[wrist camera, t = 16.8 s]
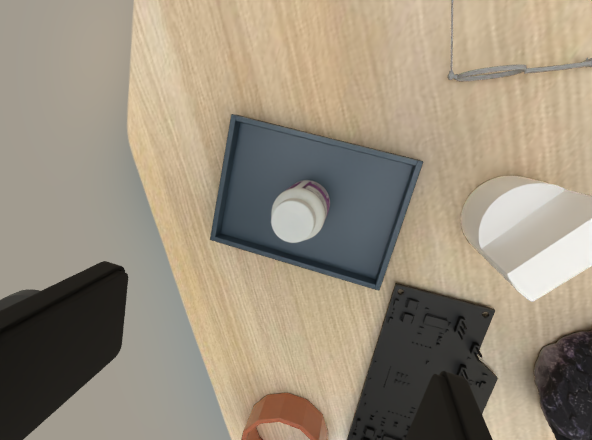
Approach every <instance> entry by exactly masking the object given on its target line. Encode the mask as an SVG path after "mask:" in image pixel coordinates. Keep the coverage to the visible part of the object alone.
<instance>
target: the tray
mask: <svg viewBox="0 0 592 440" xmlns="http://www.w3.org/2000/svg"><path fill="white" fill-rule="evenodd" d="M422 164H423V161H420V160H417V159H413V158H409V157H405V156H400V155H396V154H392V153H388V152H384V151H380V150H376V149H372V148H368V147H364V146H360V145H356V144H352V143H348V142H344V141H340V140H336V139H332V138H328V137H324V136H320V135H316V134H312V133H308V132H304V131H300V130H296V129H292V128H288V127H284V126H280V125H276V124H271V123H267V122H263V121H259V120H255V119H251V118H247V117H243V116H239V115H234V114H231V120H230V126H229V131H228V137H227V143H226V149H225V155H224V161H223V167H222V173H221V179H220V184H219V190H218V196H217V202H216V208H215V214H214V220H213V226H212V231H211V237H210V240H212V241H216V242H219V243H222V244H226V245H229V246H232V247H236V248H239V249H242V250H246V251H249V252H252V253H256V254H259V255H262V256H265V257H269V258H272V259H275V260H279V261H282V262H285V263H289V264H292V265H295V266H299V267H302V268H305V269H309V270H312V271H315V272H319V273H322V274H325V275H329V276H332V277H335V278H339V279H342V280H345V281H349V282H352V283H355V284H359V285H362V286H365V287H368V288H372V289H375V290H380V287H381V284H382V281H383V278H384V275H385V273H386V270H387V267H388V264H389V261H390V258H391V255H392V252H393V249H394V246H395V243H396V240H397V237H398V234H399V232H400V229H401V226H402V223H403V220H404V217H405V214H406V211H407V208H408V205H409V202H410V199H411V196H412V193H413V190H414V188H415V185H416V182H417V179H418V176H419V173H420V170H421V167H422ZM303 180H310V181H314V182H317V183H318V184H320V185H321V186H323V187H324V188H325V190H326V191H327V193H328V195H329V199H330V208H329V211H328V214H327V217H326V219H325V221H324V224H323V226H322V228H321V230H320V231H319V232H318V233H317V234H316V235H315V236H314V237H312V238H310V239H308V240H304V241H301V242H297V243H290V242H286V241H284V240H282V239H280V238H279V237H278V236H277V235H276V234H275V232H274V230H273V228H272V225H271V217H272V216H271V212H272V206H273V204H274V202H275V200H276V198H277V197H278V196H279V195H280V194H281V193H282V192H284V191H285V190H286V189H288V188H289V187H291V186H292V185H293V184H295V183H297V182H299V181H303Z"/></svg>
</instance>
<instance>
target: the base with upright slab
mask: <svg viewBox="0 0 592 440" xmlns="http://www.w3.org/2000/svg"><path fill="white" fill-rule="evenodd" d="M461 227H462V230H463V233H464V236H465V237H466V238H467V240H468V241H469V243H470V244H471V245H472V246H473V247H474V248H475V249H476V250H477V251H478V252H479V253H480V254H481V255H482V256H483V257H484V258H485V259H486V260H487V261H488V262H489V263H490V264H491V265H492V266H493V267H494V268H495V269H496V270H497V271H498V272H499V273H500V274H501V275H502V276H503V277H504V278H505V279H506V280H507V281H508V282H509V283H510V284H511V285H512V286H513V287H514V288H515V289H516V290H517V291H518V292H519V293H521V294H522V295H523V296H524V297H525V298H527V299H528V300H530V301H532V302H533V301H535V300H537V299H538V298H540V297H541V296H543V295H545V294H546V293H548V292H550V291H551V290H553V289H555V288H556V287H558V286H559V285H561V284H563V283H564V282H566V281H568V280H569V279H571V278H572V277H574V276H576V275H577V274H579V273H581V272H582V271H584V270H585V269H587V268H589V267H590V266H592V196H590V195H586V194H582V193H578V192H575V191H571V190H567V189H564V188H562V187H560V186H558V185H554V184H550V183H546V182H542V181H538V180H534V179H530V178H526V177H521V176H514V175H511V176H500V177H497V178H494V179H491V180H488V181H486V182H485V183H483V184H481V185H480V186H478V187H477V188H476V189H475V190H474V191H473V192H472V193H471V194H470V195H469V197H468V198H467V200H466V202H465V203H464V206H463V209H462V212H461Z"/></svg>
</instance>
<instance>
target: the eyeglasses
mask: <svg viewBox="0 0 592 440" xmlns="http://www.w3.org/2000/svg"><path fill="white" fill-rule="evenodd" d="M452 49H453V0H452V6H451V71H450V72H449V75H448V79H449V80H452V79H455V80H457V81H474V80H484V79H492V78H499V77H504V76H510V75H514V74H518V73H521V72H524V73H536V72H546V71H556V70H564V69H572V68H579V67H592V58H591V59H588V58H587V59H586V60H585V61H583V62H581V63H573V64H566V65H558V66H548V67H538V68H528V69H526V65H506V66H497V67H489V68H483V69H477V70H472V71H468V72H464V73H461V74H459V75H458V74H456V75H454V73H453V71H452ZM506 70H512V71H507V72H502V73H496V74H489V75H480V76H471V75H476V74H482V73H489V72H497V71H506ZM467 76H470V77H467Z"/></svg>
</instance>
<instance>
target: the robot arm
mask: <svg viewBox="0 0 592 440" xmlns="http://www.w3.org/2000/svg"><path fill="white" fill-rule="evenodd" d="M127 284H128V275H127V273H125V270H124V268H123V267H122V266H119V265H116V264H112V263H109V262H106V261H104V262H101V263H99V264H96V265H94V266H92V267H90V268H88V269H86V270H84V271H82V272H80V273H78V274H76V275H73V276H72V277H69V278H67V279H65V280H63V281H61V282H59V283H57V284H55V285H53V286H51V287H48V288H46V289H44V290H42V291H40V292H38V293H36V294H34V295H32V296H30V297H28V298H26V299H24V300H21V301H19V302H17V303H15V304H13V305H11V306H9V307H7V308H5V309H3V310H1V311H0V440H23V439H24V438H25V437H26V436H28V435H29V434H30V433H31V432H32V431H33V430H34V429H35V428H37V427H38V426H39V425H40V424H41V423H42V422H43V421H44V420H45V419H47V418H48V417H49V416H50V415H51V414H52V413H53V412H55V411H56V410H57V409H58V408H59V407H60V406H61V405H62V404H63V403H65V402H66V401H67V400H68V399H69V398H70V397H71V396H72V395H74V394H75V393H76V392H77V391H78V390H79V389H80V388H81V387H83V386H84V385H85V384H86V383H87V382H88V381H89V380H90V379H92V377H94V376H95V375H96V374H97V373H98V372H99V371H101V370H102V369H103V368H104V367H105V366H106V365H107V364H108V363H110V362H111V361H112V360H113V359H114V358H115V357H116V356H117V354H118V353H119V351H120V349H121V345H122V336H123V325H124V316H125V305H126V294H127ZM405 440H492V437H491V435H490V433H489V430H488V428H487V426H486V423H485V421H484V419H483V416H482V414H481V411H480V409H479V407H478V404H477V402H476V400H475V397H474V395H473V393H472V390H471V388H470V386H469V383H468V381H467V379H466V378H464V377H461V376H458V375H455V374H452V373H449V372H446V371H442V372H441V373H440V374H439V375H437V374H434V375H433V376H432V378H431V380H430V382H429V384H428V387H427V389H426V392H425V394H424V396H423V399H422V401H421V403H420V406H419V408H418V410H417V413H416V415H415V417H414V420H413V422H412V424H411V427H410V429H409V431H408V434H407V436H406V438H405Z"/></svg>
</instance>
